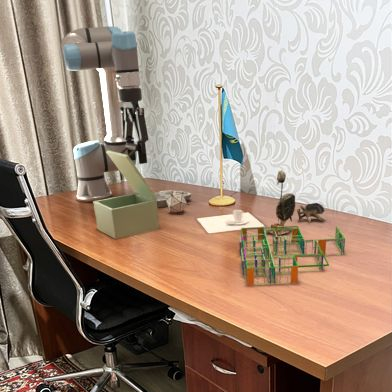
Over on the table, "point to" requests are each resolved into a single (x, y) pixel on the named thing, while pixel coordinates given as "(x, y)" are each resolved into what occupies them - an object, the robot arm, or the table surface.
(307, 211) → the brown animal figurine
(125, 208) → the chest
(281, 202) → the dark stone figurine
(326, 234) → the table surface
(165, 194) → the brain slice
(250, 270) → the wall framing model
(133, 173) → the lid
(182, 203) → the game die
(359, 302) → the table surface
